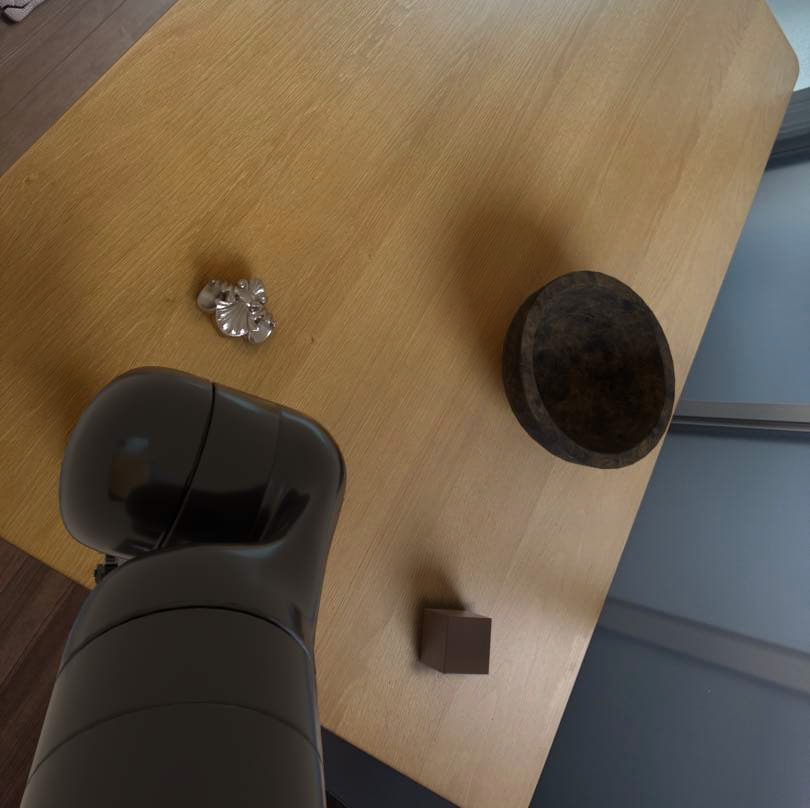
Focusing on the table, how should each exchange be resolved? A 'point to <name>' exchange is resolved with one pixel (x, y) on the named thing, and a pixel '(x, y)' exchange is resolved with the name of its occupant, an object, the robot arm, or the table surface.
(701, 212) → the table surface
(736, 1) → the table surface
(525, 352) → the bowl
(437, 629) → the brown cube
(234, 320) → the ornament
